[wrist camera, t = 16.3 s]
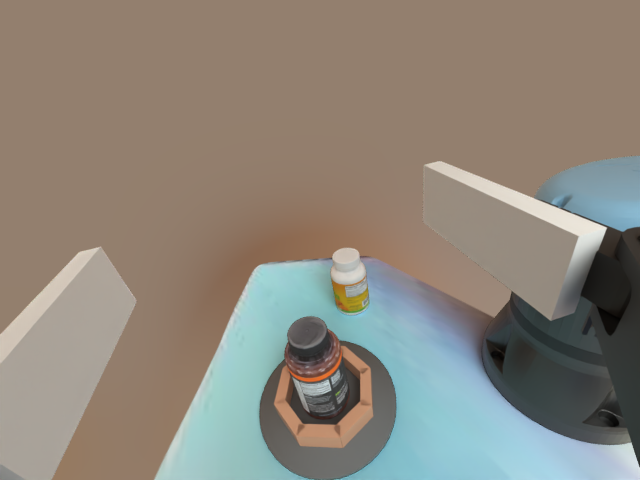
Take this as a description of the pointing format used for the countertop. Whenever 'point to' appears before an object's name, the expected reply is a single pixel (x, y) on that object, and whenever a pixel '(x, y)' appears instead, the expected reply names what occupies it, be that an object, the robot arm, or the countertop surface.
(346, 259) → the supplement bottle
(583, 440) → the robot arm
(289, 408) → the collar
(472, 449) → the countertop surface
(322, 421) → the mat
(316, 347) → the supplement bottle
